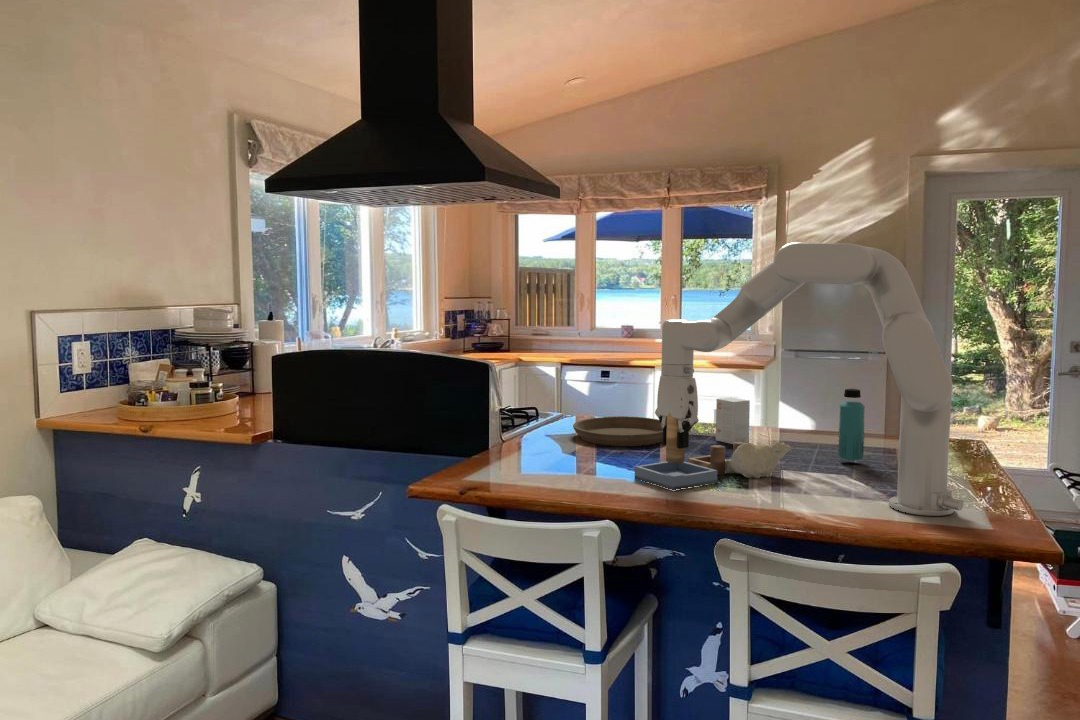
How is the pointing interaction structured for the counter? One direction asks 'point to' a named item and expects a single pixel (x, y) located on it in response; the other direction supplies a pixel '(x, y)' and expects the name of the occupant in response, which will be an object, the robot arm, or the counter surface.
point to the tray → (676, 474)
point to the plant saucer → (620, 431)
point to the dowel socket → (701, 461)
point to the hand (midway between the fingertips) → (675, 445)
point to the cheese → (756, 459)
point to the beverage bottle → (851, 427)
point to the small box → (732, 420)
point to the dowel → (673, 442)
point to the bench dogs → (720, 457)
